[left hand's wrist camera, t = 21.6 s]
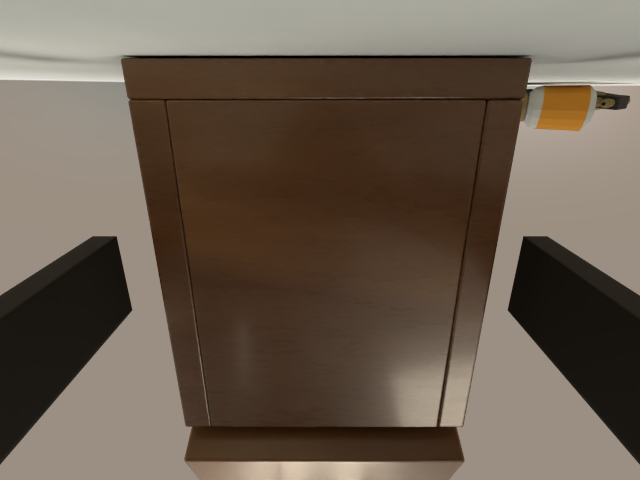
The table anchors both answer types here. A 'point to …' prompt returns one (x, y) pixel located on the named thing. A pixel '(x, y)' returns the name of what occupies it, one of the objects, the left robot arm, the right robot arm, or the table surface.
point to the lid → (324, 453)
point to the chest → (325, 230)
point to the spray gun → (566, 106)
